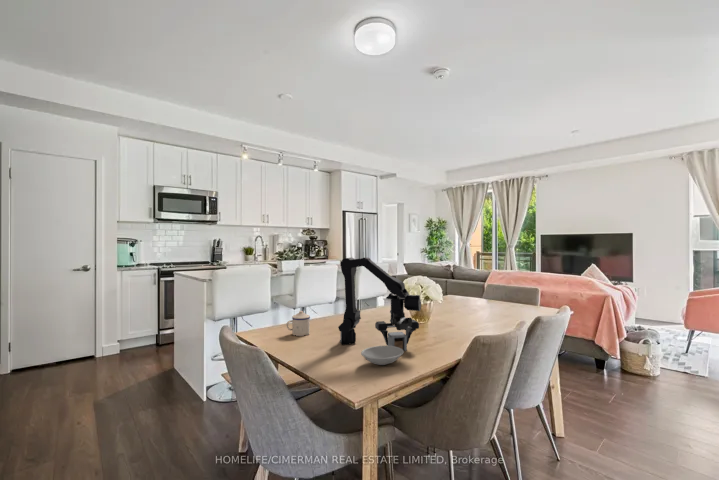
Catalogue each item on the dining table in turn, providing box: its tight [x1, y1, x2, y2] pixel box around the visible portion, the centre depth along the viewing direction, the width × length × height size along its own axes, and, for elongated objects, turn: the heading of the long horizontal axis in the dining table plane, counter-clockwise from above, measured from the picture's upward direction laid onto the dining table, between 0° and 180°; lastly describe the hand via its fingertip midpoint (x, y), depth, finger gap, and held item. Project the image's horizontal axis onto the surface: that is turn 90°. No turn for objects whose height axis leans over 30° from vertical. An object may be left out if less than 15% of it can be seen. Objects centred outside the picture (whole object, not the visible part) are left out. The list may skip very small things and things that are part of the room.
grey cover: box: [387, 331, 408, 352], centre depth 153 cm, size 7×7×6 cm
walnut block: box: [394, 339, 403, 349], centre depth 153 cm, size 4×4×4 cm
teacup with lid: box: [285, 310, 311, 337], centre depth 176 cm, size 12×9×12 cm
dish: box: [360, 345, 405, 366], centre depth 134 cm, size 18×14×5 cm
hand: (397, 344), depth 153 cm, fingers open, 9 cm apart
